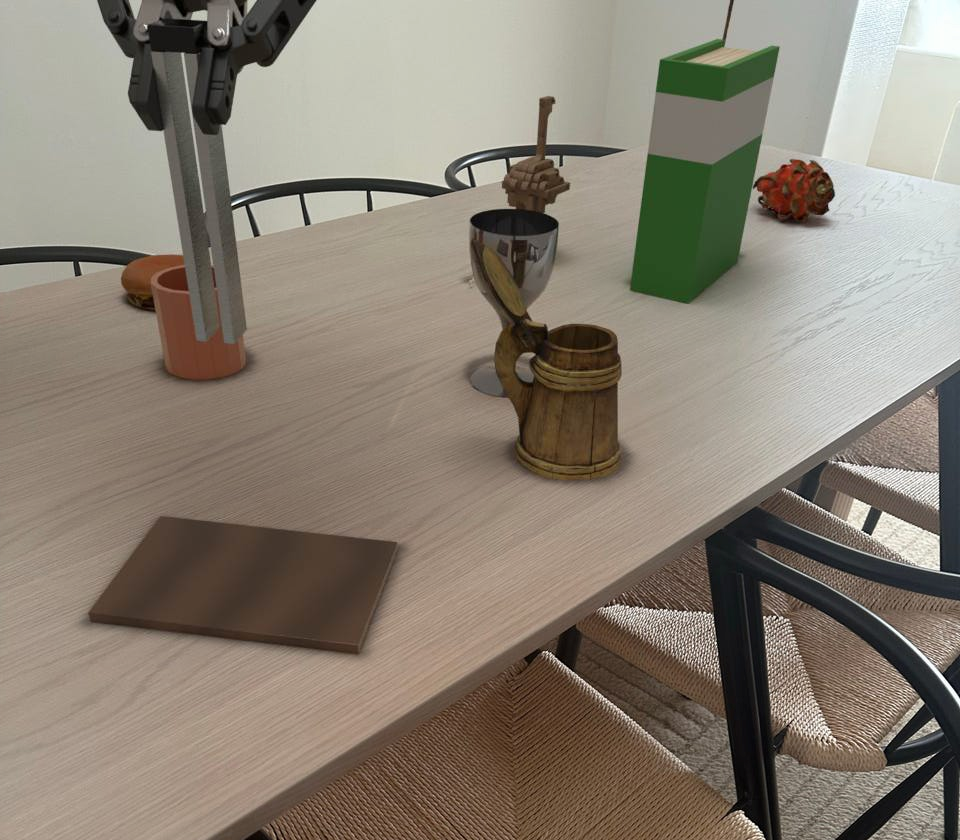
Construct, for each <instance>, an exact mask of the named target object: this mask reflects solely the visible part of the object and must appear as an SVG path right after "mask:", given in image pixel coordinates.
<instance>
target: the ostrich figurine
mask: <svg viewBox="0 0 960 840" xmlns="http://www.w3.org/2000/svg"><path fill="white" fill-rule="evenodd" d="M538 101H539V102H538V107H539V108H538V119H537V120H538V121H537V137H536V151H535V155H534V156H531V157H528V158H525V159H523V160H519V161H518V162H517V163H515V164H512V165H509V166H508V173H505V175H504V176H503V177H504V178H503V180H501V189H504V190H505V191H504V193H505V195H507V201H506V202H507V203H508V207H511V208H515V209H523V210H531V211H536V212H541V213H544V214H546V206H548V205H549V204H550V205H553V204H555V203H556V199H557V197H558V195H560V194H563V193H565V192H567V191H570V188H571V182H570V181H565V179H564V176H562V175H560V170H559V168H557V167H555V162H554V160H553V159H552V158H546V152H547V139H548V138H547V136H548V125H549V124H548V123H549V116H550V115H551V113H552V112H553V105H555V104H556V98H555V96H551V95H546V96H543V97H539V99H538ZM467 282H468V286H469V287H470V286H473V285H474V284H475V285H476V283H475V280H474V276H472V278H471V279H470V280H468V281H467Z"/></svg>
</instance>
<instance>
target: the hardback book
mask: <svg viewBox="0 0 960 840" xmlns="http://www.w3.org/2000/svg"><path fill="white" fill-rule="evenodd" d="M722 39H723V38H716V39H714V40H711V41H707V42H705V43H701V44H700V45H697V46H694V47H691V48H688V49H686V50H683V51H680V52H677V53H674V54H671V55H668V56H666V57H662V58H660V59H659V64H658V70H657V71H658V72H657V78H656V87H655V94H654V102H653V110H652V116H651V124H650V125H651V126H650V132H649V139H648V140H649V141H648V148H647V155H646V156H647V157H646V163H645V170H644V178H643V186H642V193H641V201H640V208H639V216H638V225H637V232H636V240H635V248H634V253H633V254H634V256H633V263H632V270H631V278H630V279H631V280H630V285H629V291H631V292H636V293H640V294H645V295H649V296H653V297H658V298H661V299H666V300H671V301H675V302H680V303H684V304H690V303H691V302H692V301H693V300H694V299H696V298H697V297H698V296H699V295H701V293H703V292H704V291H706V289H707V288H709V287H710V286H711V285H713V283H715V282H716V281H717V280H718V279H719V278H720V277H722V276H723V275H724V274H725V273H727V271H728V270H730V269H731V268H732V267H733V266H735V265H736V264H737V263H738V261H739V258H740V257H739V256H740V251H741V246H742V241H743V236H744V230H745V227H746V226H745V225H746V221H747V216H748V211H749V206H750V200H751V196H752V191H753V185H754V180H755V175H756V169H757V165H758V159H759V155H760V149H761V144H762V139H763V134H764V129H765V124H766V119H767V114H768V109H769V104H770V99H771V94H772V88H773V84H774V79H775V78H774V77H775V73H776V68H777V63H778V58H779V52H780V47H781V46H779V45H770V46H767V47H765V48H762V49H760V50H758V51H756V50H749V49H741V48H733V47H726V46H724V43H725V44H726V41H725V40H722Z"/></svg>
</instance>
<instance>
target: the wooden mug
mask: <svg viewBox="0 0 960 840" xmlns="http://www.w3.org/2000/svg"><path fill="white" fill-rule="evenodd" d="M469 246H470V250H471V254H472V258H473V261H474V264H475V267H476V271H477V274H478V276H479V278H480V281H481V283H482V285H483V286H484V288H485V290H486V291H487V293H488V295H489V296H490V298H491V300H492V301H493V303H494V304H495V306H496V307H497V309H498V310H499V312H500V313H501V315H502V316H503V317H504V318H505V319H506V320H507V321H508V323H507V325H506V326H505V328H504V329H503V330H502V329H501V331H500V334H499V335H498V337H497V340H496V341H495V348H494V354H493V361H494V366H495V369H496V374H497V376H498V378H499V381H500V383H501V385H502V387H503V389H504V391H505V393H506V394H507V396H508V397H507V398H508V399H509V401H510V402H511V404H512V406H513V408H514V411H515V413H516V415H517V423H518V436H517V438H516V441H515V444H514V448H513V455H514V457H515V459H516V460H517V462H518V463H519V464H520V465H521V466H522V467H523V468H524V469H526V470H527V471H529V472H530V473H532V474H534V475H537V476H540V477H543V478H546V479H551V480H561V481H586V480H591V479H601V478H603V477H605V476H608V475H611V474H612V473H613V472H615V471H616V470H617V469H618V467H619V465H620V464H621V460H622V459H621V457H622V456H621V444H620V442H619V399H618V398H619V394H618V393H619V382H620V380H621V377H622V375H623V374H622V373H623V372H622V369H623V367H622V358H621V355H620V353H619V341H618V336H617V334H616V332H614V331H613V330H612V329H609V328H607V327H603V326H599V325H596V324H591V323H568V324H562V325H560V326H557V327H554V328H552V329H550V330H549V328H548V325H547V324H546V323H543V322H537V321H533V320H532V318H531V315H530V314H529V312H528V311H527V310H528V309H527V310H526V306H525V303H524V300H523V297H522V295H521V292H520V290H519V287H518V285H517V284H516V282H515V280H514V278H513V277H512V275H511V273H510V271H509V270H508V268H507V267H506V265H505V264H504V263H503V261H502V260H501V258H500V257H499V256H498V255H497V254H496V253H495V252H494V251H493V250H492V249H490V248H489V247H488V246H486V245H485V244H483V243H481V242H479V241H478V240H475V239H472V241H471V243H470V245H469ZM470 250H469V251H470ZM528 353H529V354H530V353H531V354H534V355H533V356H532V357H531V358H529V362H528V363H529V370H531V372H532V373H533V375H534V378H533V382H526V381H523V380H522V379H520V378H519V377H518V375H517V373H516V371H515V367H516V366H517V361H518V360H519V359H520V357H521V356H522V355H523V354H528Z"/></svg>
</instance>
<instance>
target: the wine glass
mask: <svg viewBox="0 0 960 840" xmlns="http://www.w3.org/2000/svg"><path fill="white" fill-rule="evenodd" d="M559 225H560V222H559V221H558V220H557V218H555V217H553V216H552V215H549V214H547V213H541V212H536V211H531V210H523V209H516V208H495V209H487V210H483V211H480V212H477V213H474V215H472V216H471V217H470V219H469V227H468V228H469V229H468V230H469V231H468V244H469V245H470V243H471V241H472V239H475V240H478V241H479V242H481V243H483V244H485V245H486V246H488V247H489V248H490V249H492V250H493V251H494V252H495V253H496V254H497V255H498V256H499V257H500V258H501V260H502V261H503V263H504V264H505V265H506V267H507V268H508V270H509V271H510V273H511V275H512V277H513V278H514V280H515V282H516V284H517V285H518V287H519V290H520V292H521V295H522V297H523V300H524V303H525V306H526V310H528V309H529V308H530V307H531V306H532V305H533V304H534V303H535V302H536V301H537V300H538V299H539V298H540V297H541V296H542V294H543V293H544V292H545V290H546V289H547V287H548V284H549V282H550V281H551V276H552V274H553V270H554V265H555V262H556V257H557V252H558V251H557V250H558V243H559V229H560V228H559V227H560V226H559ZM468 251H469V258H470V266H471V271H472V277H474V280H475V285H476V287H477V289H478V291H479V292H480V294H481V295H482V297H483V298H484V299H485V300H486V301H487V302H488V304H489V305H490V306H491V308H492V309H493V310H494V311H495V313H496V315H497V317H498V319H499V321H500V324H501V331H502V330H503V329H504V328H505V326H506V325H507V323H508V321H507V320H506V319H505V318H504V317H503V316H502V315H501V313H500V312H499V310H498V309H497V307H496V306H495V304H494V303H493V301H492V300H491V298H490V296H489V295H488V293H487V291H486V290H485V288H484V286H483V285H482V283H481V281H480V278H479V276H478V274H477V271H476V267H475V264H474V261H473V258H472V254H471V250H470V246H469V250H468ZM515 371H516V373H517V375H518V377H519V378H520V379H522V380H523V381H526V382H533V378H534V375H533V373H532V372H531V370H530V368H525V367H521V366H517V365H516V367H515ZM469 382H470V384H471V386H472V387H473V388H474V389H475V390H477V391H479V392H481V393H484V394H487V395H490V396H494V397H502V398H508V396H507V394H506V393H505V391H504V389H503V387H502V385H501V383H500V381H499V378H498V376H497V374H496V369H495V365H489V366H485V367H482V368H480V369H477V370H476V371H474V372H473V373H472V374H471V376H470V377H469Z"/></svg>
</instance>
